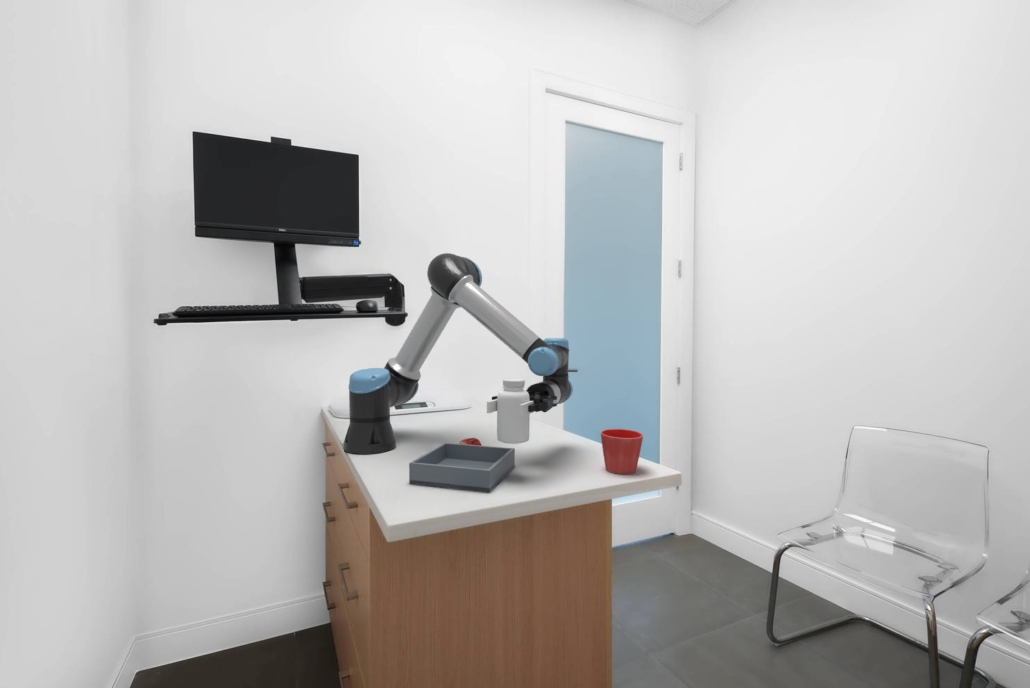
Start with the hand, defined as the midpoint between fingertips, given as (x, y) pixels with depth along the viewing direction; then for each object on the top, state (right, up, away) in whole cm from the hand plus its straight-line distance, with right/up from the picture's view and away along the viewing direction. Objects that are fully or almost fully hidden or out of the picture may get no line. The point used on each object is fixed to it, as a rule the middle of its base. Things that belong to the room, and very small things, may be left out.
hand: (504, 409), depth 117 cm
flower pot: (+30, -18, +12) cm, 37 cm away
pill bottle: (+2, -8, +5) cm, 10 cm away
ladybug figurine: (-11, -17, +30) cm, 36 cm away
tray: (-10, -17, +7) cm, 21 cm away
